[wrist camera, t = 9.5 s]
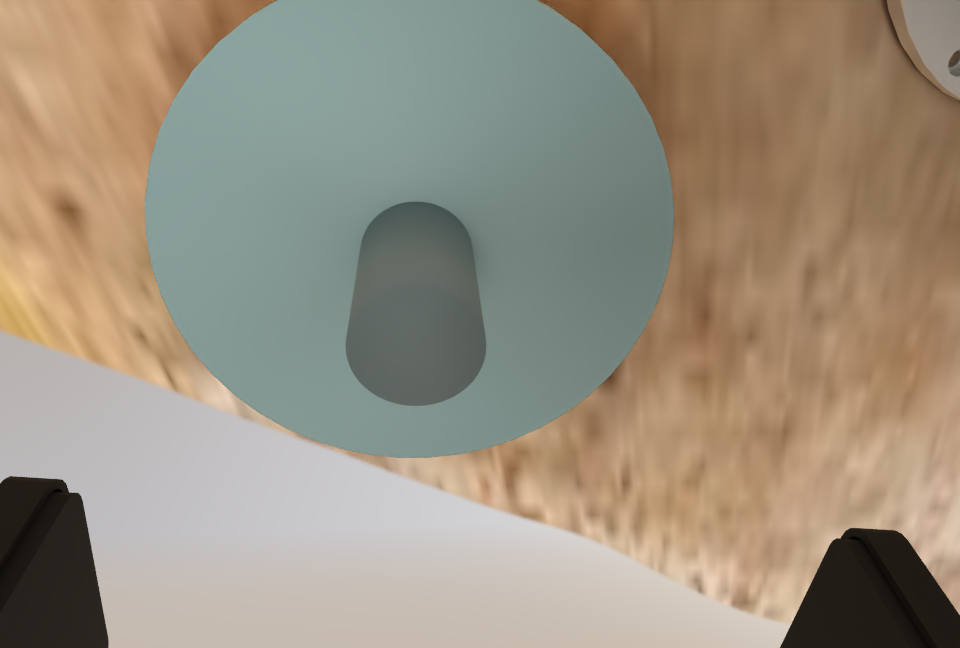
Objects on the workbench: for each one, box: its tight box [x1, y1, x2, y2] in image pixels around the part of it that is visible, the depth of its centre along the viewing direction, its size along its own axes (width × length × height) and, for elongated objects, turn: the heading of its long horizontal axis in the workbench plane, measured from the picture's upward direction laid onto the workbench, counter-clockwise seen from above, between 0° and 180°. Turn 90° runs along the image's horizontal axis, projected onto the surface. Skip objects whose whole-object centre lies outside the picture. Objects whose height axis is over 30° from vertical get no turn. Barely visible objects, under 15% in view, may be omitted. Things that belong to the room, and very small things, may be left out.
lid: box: [145, 0, 674, 458], centre depth 18 cm, size 13×13×5 cm
